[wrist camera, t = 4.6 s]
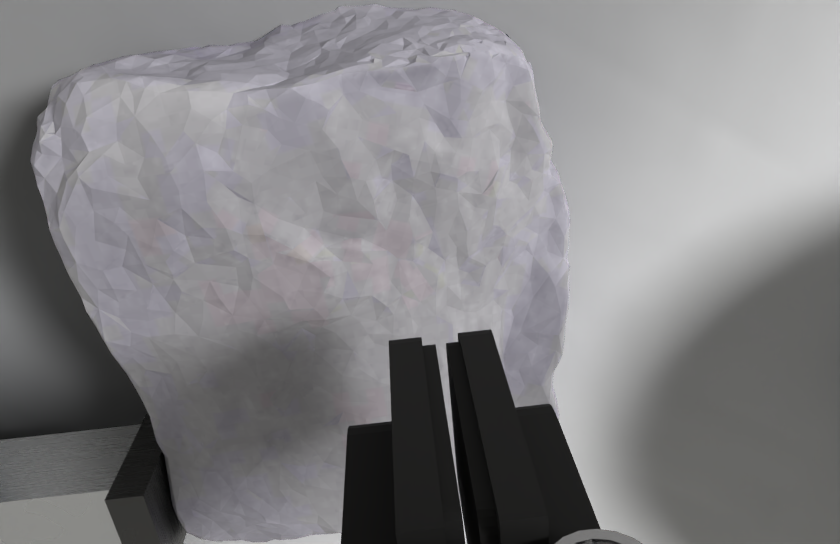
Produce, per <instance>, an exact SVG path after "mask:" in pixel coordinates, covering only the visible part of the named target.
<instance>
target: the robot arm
mask: <svg viewBox="0 0 840 544" xmlns="http://www.w3.org/2000/svg"><path fill="white" fill-rule="evenodd" d="M446 353H447V364H448V376H449V388H450V399H451V411H452V422H453V434H454V446H455V457H456V469H457V478H458V486H459V492H458V486H457V480H456V473H455V467H454V460H453V454H452V447H451V441H450V434H449V428H448V421H447V415H446V408H445V402H444V395H443V389H442V382H441V376H440V370H439V363H438V357H437V350H436V344H433V345H424V346H423V345H422V337H416V338H407V339H398V340H389V366H390V393H391V421H389V422H380V423H371V424H362V425H353V426H349V427H348V431H347V444H346V462H345V480H344V499H343V517H342V535H341V544H465V538H464V529H463V520H462V513H463V519H464V525H465V532H466V538H467V544H642V543H640V542H639V541H637V540H636V539H634V538H632V537H629V536H627V535H624V534H621V533H619V532H616V531H609V530H602V529H600V527H599V524H598V521H597V519H596V516H595V514H594V511H593V509H592V506H591V503H590V501H589V498H588V496H587V493H586V491H585V488H584V485H583V483H582V480H581V478H580V475H579V472H578V470H577V467H576V465H575V462H574V460H573V457H572V454H571V452H570V449H569V447H568V444H567V442H566V439H565V436H564V434H563V431H562V429H561V426H560V423H559V421H558V418H557V416H556V413H555V411H554V409H553V407H552V405H550V404H541V405H532V406H524V407H515V405H514V401H513V398H512V395H511V391H510V388H509V385H508V382H507V378H506V375H505V372H504V369H503V365H502V362H501V359H500V356H499V352H498V349H497V346H496V342H495V339H494V336H493V333H492V330H491V329H489V330H480V331H471V332H462V333H458V342H451V343H446ZM459 493H460V499H459ZM460 500H461V506H462V513H461V506H460Z"/></svg>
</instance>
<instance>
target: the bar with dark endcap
mask: <svg viewBox="0 0 840 544" xmlns="http://www.w3.org/2000/svg"><path fill="white" fill-rule="evenodd" d="M185 535H186V531H185V529H184V527H183V526H182V524H181V522H180V521H179V519H178V517H177V515H176V512H175V510H174V508H173V505H172V499H171V492H170V486H169V480H168V474H167V468H166V462H165V456H164V454H163V452H162V450H161V448H160V447H159V445H158V443H157V441H156V438H155V434H154V430H153V427H152V423H151V419H150V416H149V414H148V412H147V414H146V416H145V418H144V420H143V422H142V424H140V425H131V426H122V427H113V428H104V429H95V430H86V431H77V432H68V433H59V434H50V435H41V436H32V437H23V438H14V439H5V440H0V544H183V542H184V539H185Z"/></svg>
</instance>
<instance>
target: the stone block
mask: <svg viewBox="0 0 840 544" xmlns="http://www.w3.org/2000/svg"><path fill="white" fill-rule="evenodd" d="M552 149H553V144H552V139H551V138H550V136H549V134H548V133H547V131H546V130H545V128H544V126H543V124H542V121H541V118H540V108H539V104H538V99H537V94H536V90H535V85H534V76H533V69H532V66H531V62H528V61H526V59H525V57H524V54H523V52H522V50H521V48H520V47H519V46H518V45H517V44H515V43H514V42H513V41H512V40H511V39H510V38H509V36H508V35H507V34H505V33H503V32H502V31H501V30H499V29H497V28H496V27H494V26H492V25H490V24H487V23H485V22H483V21H482V20H480V19H478V18H477V17H474V16H472V15H469V14H466V13H462V12H457V11H456V10H444V9H438V8H433V7H430V8H422V9H405V8H391V7H384V6H380V5H377V4H369V5H363V6H349V5H344V6H340V7H337V8H336V9H335V10H333V11H331V12H328V13H324V14H321V15H318V16H316V17H314V18H311V19H309V20H306V21H304V22H299V23H297V24H294V25H292V26H290V25H280V26H278V27H277V28H275V29H274V30H272V31H271V32H269V33H268V34H266V35H265V36H263V37H262V38H260V39H259V40H257V41H254V42H246V43H238V44H233V45H230V46H220V45H208V46H205V47H203V48H201V47H190V48H184V49H178V50H167V51H158V52H151V53H144V54H137V55H130V56H122V57H120V58H117V59H113V60H110V61H106V62H103V63H99V64H93V65H91V66H90V67H88V68H85V69H81V70H79V71H78V72H76V73H75V74H73V75H72V76H69V77H66V78H63V79H60V80H58V81H57V82H56V83H55V84H54V85H53V86H52V88H51V91H50V95H49V99H48V105H47V108H46V109H45V110H44V111H43V112H42V113H41V114H40V115H39V116H38V117H37V134H36V137H35V140H34V143H33V148H32V154H31V160H30V162H31V165H32V168H33V171H34V174H35V177H36V182H37V186H38V189H39V191H40V194H41V197H42V199H43V202H44V206H45V210H46V215H47V219H48V225H49V230H50V233H51V235H52V238H53V240H54V243H55V245H56V248H57V250H58V252H59V254H60V256H61V258H62V261H63V263H64V266H65V268H66V270H67V272H68V274H69V276H70V278H71V280H72V282H73V283H74V285H75V287H76V289H77V291H78V293H79V294H80V296H81V298H82V301H83V304H84V306H85V309H86V312H87V313H88V315H89V317H90V318H91V320H92V322H93V323H94V325H95V326H96V328H97V330H98V332H99V333H100V335H101V337H102V339H103V340H104V342H105V344H106V346H107V348H108V349H109V351H110V353H111V354H112V355H113V357H114V358H115V359H116V361H117V362H118V363H119V364H120V366H121V367H122V368H123V370H124V371H125V372H126V373H127V375H128V377H129V378H130V380H131V382H132V383H133V385H134V387H135V388H136V390H137V392H138V394H139V396H140V397H141V399H142V401H143V403H144V405H145V407H146V410H147V412H148V414H149V416H150V419H151V423H152V427H153V430H154V434H155V438H156V441H157V443H158V445H159V447H160V448H161V450H162V452H163V454H164V456H165V462H166V468H167V474H168V480H169V486H170V492H171V499H172V505H173V508H174V510H175V512H176V515H177V517H178V519H179V521H180V522H181V524H182V526H183V527H184V529H185V531H186V532H187V533H190V534H192V535H194V536H196V537H198V538H201V539H205V540H210V541H226V540H245V541H250V542H267V541H270V540H273V539H277V540H285V539H297V538H301V537H305V536H309V535H315V534H333V533H342V517H343V499H344V480H345V462H346V444H347V431H348V427H349V426H353V425H362V424H371V423H380V422H389V421H391V393H390V366H389V340H398V339H407V338H416V337H422V345H423V346H424V345H433V344H436V350H437V357H438V363H439V370H440V376H441V382H442V389H443V395H444V402H445V408H446V415H447V421H448V428H449V434H450V441H451V447H452V454H453V460H454V467H455V473H456V480H457V486H458V478H457V469H456V457H455V446H454V434H453V422H452V411H451V399H450V388H449V376H448V364H447V353H446V343H451V342H458V333H462V332H471V331H480V330H489V329H491V330H492V333H493V336H494V339H495V342H496V346H497V349H498V352H499V356H500V359H501V362H502V365H503V369H504V372H505V375H506V378H507V382H508V385H509V388H510V391H511V395H512V398H513V401H514V405H515V407H524V406H532V405H541V404H550V405H552V407H553V409H554V411H555V413H556V416H557V418H558V420H559V411H558V405H557V399H556V395H555V392H554V389H553V375H554V370H555V368H556V367H557V365H558V363H559V361H560V359H561V356H562V352H563V346H564V340H565V324H566V319H567V313H568V307H569V270H570V266H569V263H568V260H567V256H568V248H569V232H570V214H569V205H568V202H567V198H566V194H565V191H564V189H563V186H562V183H561V180H560V177H559V174H558V171H557V169H556V167H555V165H554V164H553V162H552V161H551V155H552V152H553V151H552ZM458 492H459V486H458ZM459 499H460V493H459ZM460 506H461V500H460Z"/></svg>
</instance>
